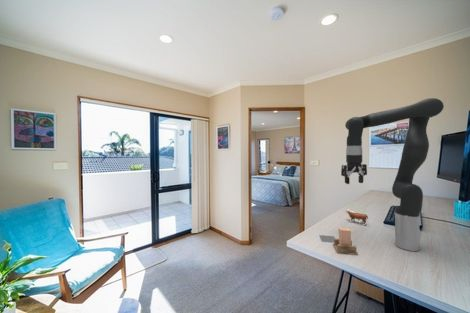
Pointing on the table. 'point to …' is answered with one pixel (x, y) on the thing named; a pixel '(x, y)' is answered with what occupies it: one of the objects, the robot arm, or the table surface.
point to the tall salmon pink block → (344, 236)
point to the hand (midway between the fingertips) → (354, 183)
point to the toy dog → (357, 216)
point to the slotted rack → (344, 248)
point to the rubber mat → (327, 238)
